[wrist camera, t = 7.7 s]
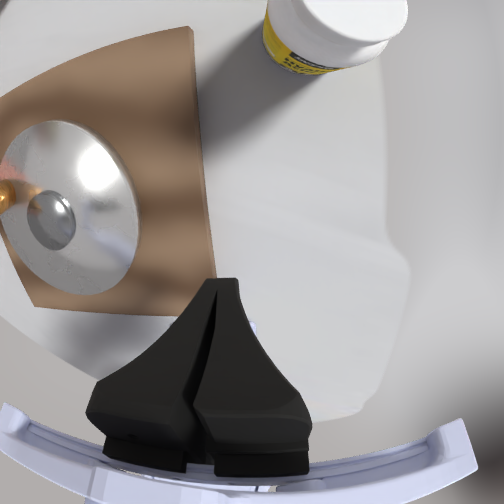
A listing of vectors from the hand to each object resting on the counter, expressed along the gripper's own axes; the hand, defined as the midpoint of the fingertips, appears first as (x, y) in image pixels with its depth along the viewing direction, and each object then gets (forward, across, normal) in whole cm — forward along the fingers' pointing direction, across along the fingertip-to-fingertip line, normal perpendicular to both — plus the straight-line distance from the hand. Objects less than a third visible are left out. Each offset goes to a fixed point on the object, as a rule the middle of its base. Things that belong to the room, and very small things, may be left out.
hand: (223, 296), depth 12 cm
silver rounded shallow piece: (+7, +14, -3) cm, 16 cm away
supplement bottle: (+10, -5, -12) cm, 16 cm away
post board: (+9, +13, -2) cm, 16 cm away
